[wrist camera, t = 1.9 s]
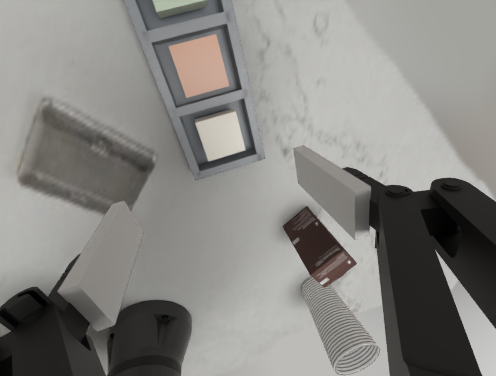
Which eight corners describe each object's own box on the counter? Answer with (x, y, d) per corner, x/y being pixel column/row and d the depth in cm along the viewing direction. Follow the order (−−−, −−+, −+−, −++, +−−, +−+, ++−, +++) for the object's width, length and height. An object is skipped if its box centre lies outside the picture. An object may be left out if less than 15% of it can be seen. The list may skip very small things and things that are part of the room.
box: (305, 204, 40) (345, 249, 30) (318, 218, 43) (359, 265, 32) (280, 226, 41) (310, 277, 31) (293, 238, 43) (326, 290, 33)
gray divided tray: (194, 170, 33) (195, 180, 30) (104, -63, 21) (89, -87, 18) (258, 151, 34) (265, 158, 31) (205, -85, 22) (208, -111, 19)
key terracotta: (186, 96, 26) (186, 98, 24) (170, 49, 24) (168, 46, 22) (226, 85, 27) (229, 85, 24) (214, 37, 24) (216, 33, 22)
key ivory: (207, 155, 30) (208, 161, 28) (194, 119, 27) (195, 122, 25) (241, 144, 30) (245, 150, 28) (232, 108, 28) (235, 111, 26)
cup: (289, 295, 51) (324, 375, 37) (307, 267, 48) (353, 343, 34) (318, 299, 54) (361, 375, 40) (337, 273, 51) (390, 345, 37)
